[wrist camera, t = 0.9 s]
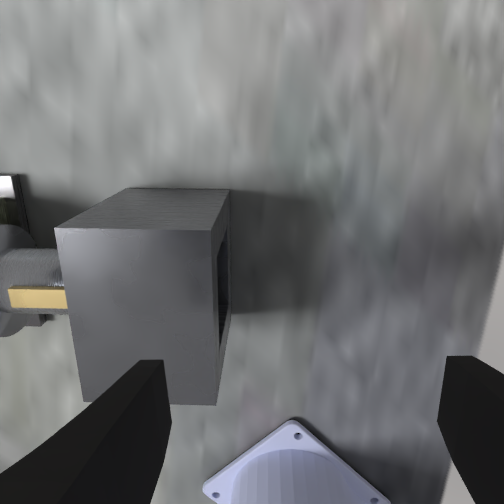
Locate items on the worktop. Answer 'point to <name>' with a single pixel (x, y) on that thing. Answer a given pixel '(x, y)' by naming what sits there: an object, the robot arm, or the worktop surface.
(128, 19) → the worktop surface
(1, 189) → the shaft rig
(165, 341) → the grey housing block
